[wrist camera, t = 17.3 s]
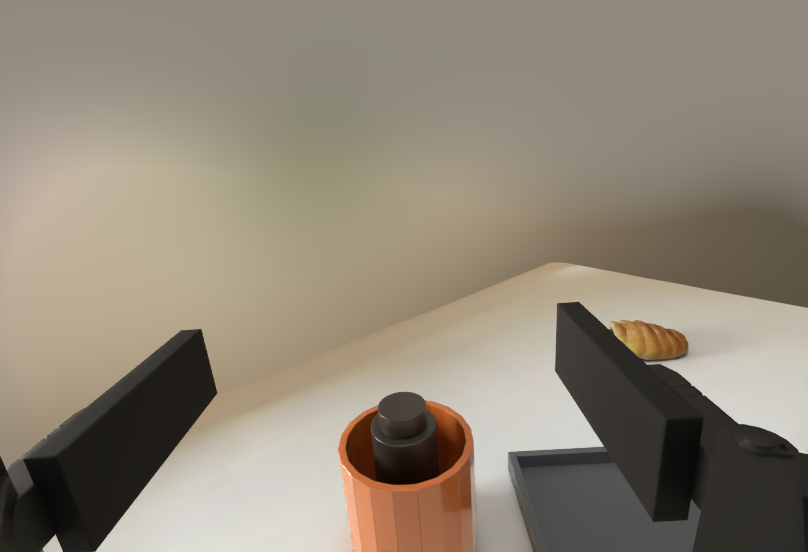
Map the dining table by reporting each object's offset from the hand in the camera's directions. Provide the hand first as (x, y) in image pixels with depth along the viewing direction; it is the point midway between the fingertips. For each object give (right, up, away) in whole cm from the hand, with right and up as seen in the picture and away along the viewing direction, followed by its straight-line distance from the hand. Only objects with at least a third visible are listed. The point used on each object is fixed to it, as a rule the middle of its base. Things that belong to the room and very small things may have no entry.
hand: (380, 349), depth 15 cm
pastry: (+32, -7, +39) cm, 51 cm away
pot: (+2, -17, +15) cm, 23 cm away
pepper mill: (+2, -16, +15) cm, 22 cm away
